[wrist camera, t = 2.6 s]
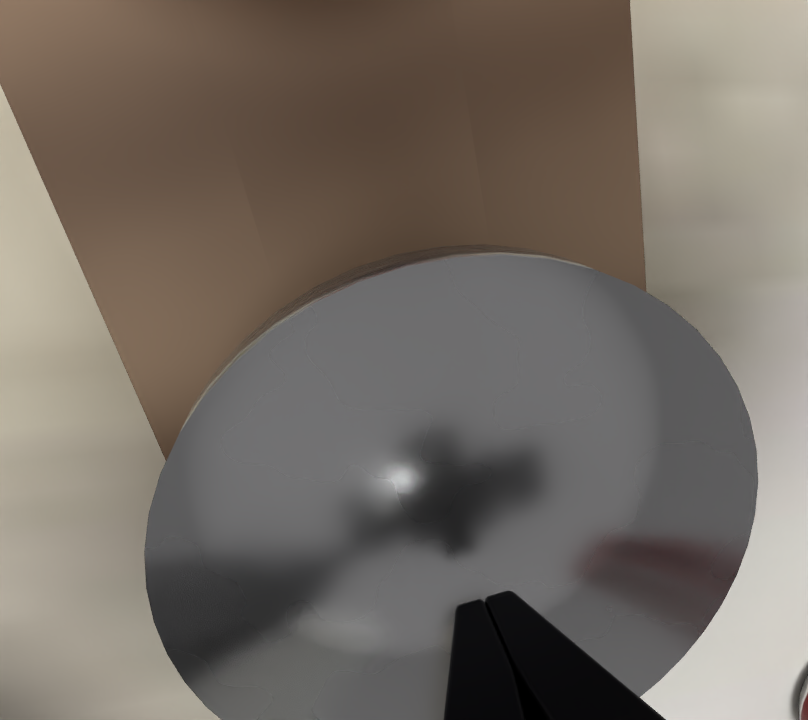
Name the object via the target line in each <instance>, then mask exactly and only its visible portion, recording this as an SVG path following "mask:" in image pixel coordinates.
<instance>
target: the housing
mask: <svg viewBox="0 0 808 720" xmlns="http://www.w3.org/2000/svg"><path fill="white" fill-rule="evenodd" d="M0 84H1V87H2V89H3V91H4V93H5V96H6V98H7V100H8V102H9V105H10V107H11V109H12V112H13V114H14V116H15V118H16V121H17V123H18V125H19V127H20V130H21V132H22V134H23V137H24V139H25V141H26V143H27V146H28V148H29V150H30V153H31V155H32V157H33V159H34V162H35V164H36V166H37V168H38V171H39V173H40V175H41V178H42V180H43V182H44V184H45V187H46V189H47V191H48V193H49V196H50V198H51V200H52V203H53V205H54V207H55V209H56V212H57V214H58V216H59V218H60V221H61V223H62V225H63V228H64V230H65V232H66V234H67V237H68V239H69V241H70V244H71V246H72V248H73V250H74V253H75V255H76V257H77V259H78V262H79V264H80V266H81V269H82V271H83V273H84V275H85V278H86V280H87V282H88V284H89V287H90V289H91V291H92V294H93V296H94V298H95V300H96V303H97V305H98V307H99V309H100V312H101V314H102V316H103V319H104V321H105V323H106V325H107V328H108V330H109V332H110V335H111V337H112V339H113V341H114V344H115V346H116V348H117V350H118V353H119V355H120V357H121V360H122V362H123V364H124V366H125V369H126V371H127V373H128V375H129V378H130V380H131V382H132V385H133V387H134V389H135V391H136V394H137V396H138V398H139V400H140V403H141V405H142V407H143V410H144V412H145V414H146V416H147V419H148V421H149V423H150V426H151V428H152V430H153V432H154V435H155V437H156V439H157V441H158V444H159V446H160V448H161V451H162V453H163V455H164V457H165V460H166V461H167V459H168V457H169V454H170V452H171V450H172V448H173V446H174V444H175V442H176V440H177V437H178V435H179V433H180V431H181V429H182V427H183V425H184V423H185V421H186V419H187V416H188V414H189V412H190V410H191V408H192V406H193V404H194V403H195V401H196V400H197V398H198V397H199V395H200V394H201V392H202V391H203V389H204V388H205V386H206V385H207V383H208V382H209V380H210V379H211V377H212V375H213V374H214V372H215V371H216V370H217V369H218V368H219V366H220V365H221V364H222V363H223V362H224V361H225V360H226V359H227V357H228V356H229V355H230V354H231V353H232V352H233V351H234V350H235V349H236V347H237V346H238V345H239V344H240V343H241V342H242V341H243V340H244V339H245V338H246V337H247V336H248V335H249V334H251V333H252V332H253V331H254V330H255V329H256V328H258V327H259V326H260V325H261V324H262V323H263V322H265V321H266V320H267V319H268V318H269V317H270V316H272V315H273V314H274V313H275V312H276V311H278V310H279V309H281V308H282V307H284V306H285V305H287V304H289V303H290V302H292V301H293V300H295V299H296V298H298V297H299V296H301V295H303V294H304V293H306V292H307V291H309V290H310V289H312V288H313V287H315V286H317V285H319V284H322V283H324V282H326V281H328V280H330V279H332V278H334V277H336V276H339V275H341V274H343V273H345V272H347V271H349V270H351V269H353V268H356V267H359V266H362V265H365V264H368V263H371V262H374V261H378V260H381V259H384V258H387V257H390V256H393V255H396V254H401V253H406V252H412V251H417V250H423V249H428V248H434V247H440V246H457V245H479V244H487V245H498V246H508V247H519V248H527V249H532V250H536V251H540V252H544V253H548V254H553V255H557V256H561V257H565V258H567V259H570V260H572V261H575V262H577V263H580V264H582V265H585V266H587V267H590V268H592V269H595V270H597V271H600V272H602V273H605V274H607V275H610V276H612V277H615V278H617V279H620V280H622V281H625V282H627V283H630V284H632V285H635V286H636V287H638V288H640V289H641V290H643V291H645V292H646V278H645V261H644V243H643V226H642V208H641V190H640V173H639V155H638V137H637V120H636V102H635V85H634V67H633V49H632V32H631V14H630V0H0Z"/></svg>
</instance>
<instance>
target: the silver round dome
mask: <svg viewBox="0 0 808 720" xmlns="http://www.w3.org/2000/svg"><path fill="white" fill-rule="evenodd" d="M757 487H758V472H757V453H756V446H755V441H754V436H753V431H752V427H751V422H750V418H749V415H748V412H747V410H746V407H745V405H744V402H743V399H742V397H741V394H740V391H739V389H738V387H737V385H736V383H735V381H734V380H733V378H732V376H731V375H730V373H729V371H728V370H727V368H726V366H725V365H724V363H723V361H722V359H721V358H720V356H719V355H718V354H717V353H716V352H715V351H714V349H713V348H712V347H711V346H710V345H709V343H708V342H707V341H706V340H705V339H704V338H703V336H702V335H701V334H700V333H699V332H698V330H697V329H695V328H694V327H693V326H692V325H691V324H689V323H688V322H687V321H686V320H685V319H683V318H682V317H681V316H680V315H679V314H678V313H676V312H675V311H674V310H673V309H672V308H670V307H669V306H668V305H666V304H665V303H663V302H661V301H660V300H658V299H656V298H655V297H653V296H651V295H650V294H648V293H646V292H645V291H643V290H641V289H640V288H638V287H636V286H635V285H632V284H630V283H627V282H625V281H622V280H620V279H617V278H615V277H612V276H610V275H607V274H605V273H602V272H600V271H597V270H595V269H592V268H590V267H587V266H585V265H582V264H580V263H577V262H575V261H572V260H570V259H567V258H565V257H561V256H557V255H553V254H548V253H544V252H540V251H536V250H532V249H527V248H519V247H508V246H498V245H487V244H479V245H457V246H440V247H434V248H428V249H423V250H417V251H412V252H406V253H401V254H396V255H393V256H390V257H387V258H384V259H381V260H378V261H374V262H371V263H368V264H365V265H362V266H359V267H356V268H353V269H351V270H349V271H347V272H345V273H343V274H341V275H339V276H336V277H334V278H332V279H330V280H328V281H326V282H324V283H322V284H319V285H317V286H315V287H313V288H312V289H310V290H309V291H307V292H306V293H304V294H303V295H301V296H299V297H298V298H296V299H295V300H293V301H292V302H290V303H289V304H287V305H285V306H284V307H282V308H281V309H279V310H278V311H276V312H275V313H274V314H273V315H272V316H270V317H269V318H268V319H267V320H266V321H265V322H263V323H262V324H261V325H260V326H259V327H258V328H256V329H255V330H254V331H253V332H252V333H251V334H249V335H248V336H247V337H246V338H245V339H244V340H243V341H242V342H241V343H240V344H239V345H238V346H237V347H236V349H235V350H234V351H233V352H232V353H231V354H230V355H229V356H228V357H227V359H226V360H225V361H224V362H223V363H222V364H221V365H220V366H219V368H218V369H217V370H216V371H215V372H214V374H213V375H212V377H211V379H210V380H209V382H208V383H207V385H206V386H205V388H204V389H203V391H202V392H201V394H200V395H199V397H198V398H197V400H196V401H195V403H194V404H193V406H192V408H191V410H190V412H189V414H188V416H187V419H186V421H185V423H184V425H183V427H182V429H181V431H180V433H179V435H178V437H177V440H176V442H175V444H174V446H173V448H172V450H171V452H170V454H169V457H168V459H167V461H166V463H165V465H164V467H163V469H162V472H161V474H160V477H159V480H158V484H157V487H156V491H155V494H154V498H153V501H152V505H151V508H150V511H149V517H148V526H147V534H146V543H145V551H144V552H145V572H146V589H147V593H148V598H149V602H150V606H151V611H152V615H153V620H154V623H155V626H156V628H157V631H158V633H159V635H160V638H161V640H162V643H163V645H164V647H165V650H166V652H167V654H168V656H169V658H170V659H171V661H172V662H173V664H174V666H175V667H176V669H177V670H178V672H179V674H180V675H181V677H182V678H183V680H184V682H185V683H186V684H187V685H188V686H189V688H190V689H191V690H192V691H193V692H194V693H195V694H196V696H197V697H198V698H199V699H200V700H201V701H202V702H203V704H204V705H205V706H206V707H207V708H208V709H209V710H211V711H212V712H213V713H214V714H215V715H217V716H218V717H219V718H220V719H221V720H444V711H445V701H446V692H447V683H448V673H449V664H450V655H451V646H452V636H453V627H454V618H455V610H456V607H457V606H458V605H460V604H463V603H467V602H470V601H473V600H477V599H482V600H483V601H484V602H485V599H486V598H487V597H488V596H490V595H494V594H497V593H500V592H504V591H508V590H509V591H513V592H514V593H515V594H517V595H518V596H519V597H520V598H522V599H523V600H524V601H525V602H526V603H527V604H529V605H530V606H531V607H532V608H533V609H535V610H536V611H537V612H538V613H539V614H541V615H542V616H543V617H544V618H545V619H547V620H548V621H549V622H550V623H551V624H552V625H554V626H555V627H556V628H557V629H558V630H560V631H561V632H562V633H563V634H564V635H566V636H567V637H568V638H569V639H570V640H572V641H573V642H574V643H575V644H576V645H577V646H579V647H580V648H581V649H582V650H583V651H585V652H586V653H587V654H588V655H589V656H591V657H592V658H593V659H594V660H595V661H597V662H598V663H599V664H600V665H601V666H602V667H604V668H605V669H606V670H607V671H608V672H610V673H611V674H612V675H613V676H614V677H616V678H617V679H618V680H619V681H620V682H622V683H623V684H624V685H625V686H626V687H628V688H629V689H630V690H631V691H632V692H633V693H635V694H636V695H637V696H638V697H640V696H642V695H643V694H644V693H645V692H646V691H648V690H649V689H650V688H651V687H652V686H654V685H655V684H656V683H657V682H658V681H660V680H661V679H662V678H663V677H664V676H665V675H666V674H667V673H668V672H669V671H670V670H671V669H672V668H673V667H674V666H675V665H676V664H677V663H678V662H679V661H680V660H681V658H682V657H683V656H684V655H685V654H686V653H687V651H688V650H689V649H690V648H691V647H692V645H693V644H694V643H695V642H696V640H697V639H698V638H699V637H700V636H701V634H702V633H703V632H704V630H705V629H706V627H707V626H708V624H709V623H710V621H711V620H712V618H713V617H714V615H715V614H716V612H717V611H718V609H719V608H720V606H721V605H722V603H723V601H724V599H725V597H726V595H727V593H728V591H729V589H730V587H731V585H732V583H733V581H734V579H735V577H736V575H737V573H738V570H739V567H740V565H741V562H742V559H743V557H744V554H745V551H746V548H747V546H748V542H749V538H750V533H751V529H752V525H753V520H754V516H755V509H756V498H757Z"/></svg>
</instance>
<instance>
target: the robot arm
mask: <svg viewBox="0 0 808 720" xmlns="http://www.w3.org/2000/svg"><path fill="white" fill-rule="evenodd" d="M444 720H666V719H664V718H663V717H662V716H661V715H660V714H658V713H657V712H656V711H655V710H654V709H653V708H651V707H650V706H649V705H648V704H647V703H645V702H644V701H643V700H642V699H641V698H639V697H638V696H637V695H636V694H635V693H633V692H632V691H631V690H630V689H629V688H628V687H626V686H625V685H624V684H623V683H622V682H620V681H619V680H618V679H617V678H616V677H614V676H613V675H612V674H611V673H610V672H608V671H607V670H606V669H605V668H604V667H602V666H601V665H600V664H599V663H598V662H597V661H595V660H594V659H593V658H592V657H591V656H589V655H588V654H587V653H586V652H585V651H583V650H582V649H581V648H580V647H579V646H577V645H576V644H575V643H574V642H573V641H572V640H570V639H569V638H568V637H567V636H566V635H564V634H563V633H562V632H561V631H560V630H558V629H557V628H556V627H555V626H554V625H552V624H551V623H550V622H549V621H548V620H547V619H545V618H544V617H543V616H542V615H541V614H539V613H538V612H537V611H536V610H535V609H533V608H532V607H531V606H530V605H529V604H527V603H526V602H525V601H524V600H523V599H522V598H520V597H519V596H518V595H517V594H515V593H514V592H513V591H509V590H508V591H504V592H500V593H497V594H494V595H490V596H488V597H487V598H486V599H485V602H484V601H483V600H482V599H477V600H473V601H470V602H467V603H463V604H460V605H458V606H457V607H456V610H455V618H454V627H453V636H452V646H451V655H450V664H449V673H448V683H447V692H446V701H445V711H444Z"/></svg>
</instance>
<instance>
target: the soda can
mask: <svg viewBox="0 0 808 720" xmlns="http://www.w3.org/2000/svg"><path fill="white" fill-rule="evenodd" d="M799 716H800V720H808V675H807V677H806V679H805V681H804V684H803V686H802V688H801V693H800V697H799Z"/></svg>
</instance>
